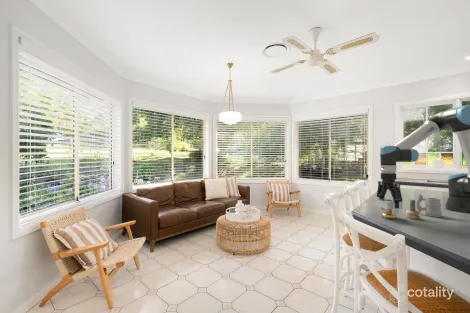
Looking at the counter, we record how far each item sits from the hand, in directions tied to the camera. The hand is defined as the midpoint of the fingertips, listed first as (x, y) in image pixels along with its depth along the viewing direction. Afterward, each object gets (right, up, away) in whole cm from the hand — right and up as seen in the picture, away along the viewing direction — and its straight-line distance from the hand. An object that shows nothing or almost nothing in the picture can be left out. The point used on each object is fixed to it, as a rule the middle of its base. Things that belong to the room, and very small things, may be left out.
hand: (389, 211), depth 132 cm
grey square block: (0, +3, 0) cm, 3 cm away
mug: (+26, -3, +4) cm, 26 cm away
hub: (0, -3, 0) cm, 3 cm away
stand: (+12, -3, -2) cm, 13 cm away
